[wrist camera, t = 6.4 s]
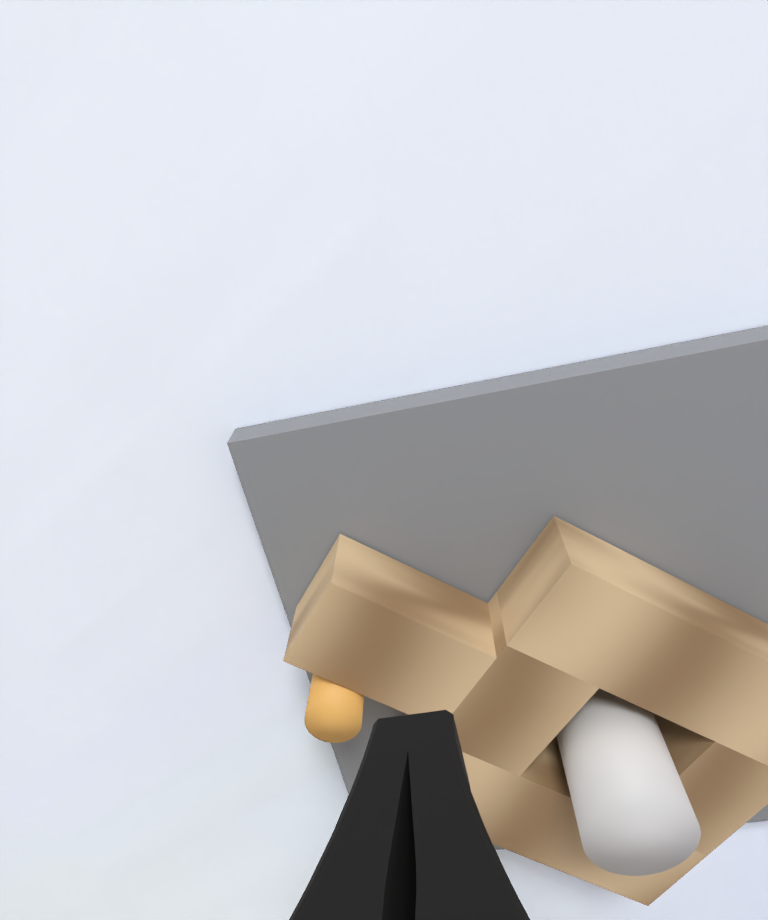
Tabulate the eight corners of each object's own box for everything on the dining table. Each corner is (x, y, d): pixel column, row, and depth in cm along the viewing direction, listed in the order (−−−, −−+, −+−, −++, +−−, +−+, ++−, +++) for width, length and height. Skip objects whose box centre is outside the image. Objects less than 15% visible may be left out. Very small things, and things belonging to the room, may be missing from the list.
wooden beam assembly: (826, 653, 21) (873, 713, 19) (627, 838, 25) (647, 905, 23) (397, 436, 18) (396, 477, 16) (251, 682, 22) (234, 740, 20)
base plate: (855, 784, 25) (978, 965, 20) (373, 838, 27) (364, 1014, 22) (905, 298, 18) (1125, 374, 12) (235, 429, 20) (169, 541, 14)
